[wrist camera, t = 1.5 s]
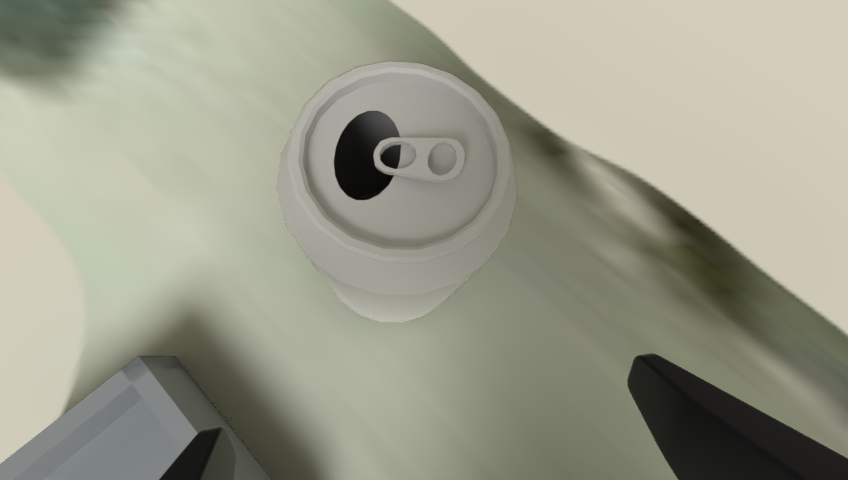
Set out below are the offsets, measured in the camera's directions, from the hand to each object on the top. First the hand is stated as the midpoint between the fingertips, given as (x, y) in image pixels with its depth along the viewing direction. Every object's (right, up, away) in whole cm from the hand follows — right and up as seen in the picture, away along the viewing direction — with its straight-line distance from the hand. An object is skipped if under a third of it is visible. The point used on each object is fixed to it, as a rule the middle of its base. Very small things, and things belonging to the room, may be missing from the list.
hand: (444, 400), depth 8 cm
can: (-2, +2, +14) cm, 14 cm away
